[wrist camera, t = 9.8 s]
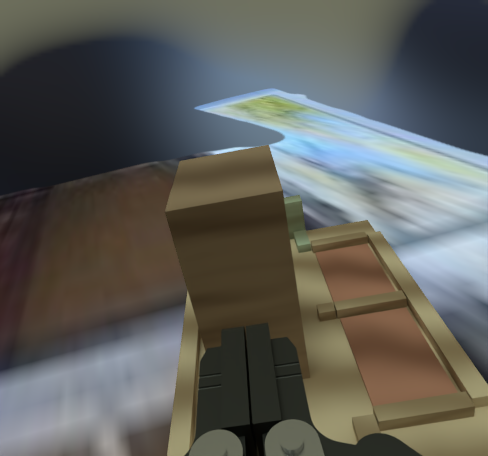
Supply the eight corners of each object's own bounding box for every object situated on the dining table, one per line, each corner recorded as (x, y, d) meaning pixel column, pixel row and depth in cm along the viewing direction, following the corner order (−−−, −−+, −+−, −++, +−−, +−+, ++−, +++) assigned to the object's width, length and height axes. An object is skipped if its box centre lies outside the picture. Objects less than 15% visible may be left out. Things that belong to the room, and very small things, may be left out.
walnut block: (310, 377, 27) (282, 190, 22) (217, 392, 28) (164, 211, 22) (292, 301, 35) (268, 144, 29) (219, 313, 35) (179, 161, 29)
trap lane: (538, 488, 20) (554, 417, 18) (168, 544, 21) (139, 482, 19) (367, 227, 45) (364, 183, 42) (197, 257, 45) (186, 215, 43)
